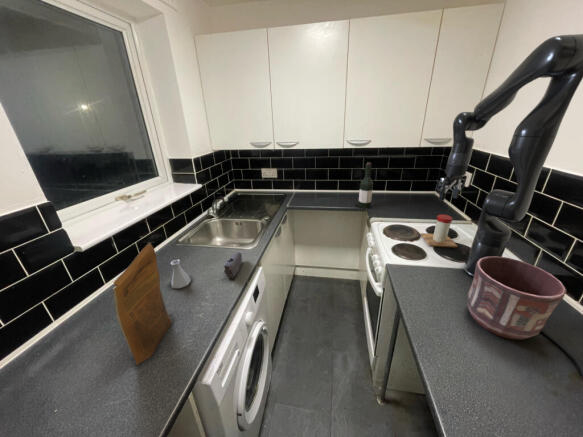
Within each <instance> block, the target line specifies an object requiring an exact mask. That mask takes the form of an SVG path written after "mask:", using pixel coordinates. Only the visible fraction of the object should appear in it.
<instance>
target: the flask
mask: <svg viewBox="0 0 583 437" xmlns="http://www.w3.org/2000/svg"><path fill="white" fill-rule="evenodd" d="M170 265H171V266H172V278H171V284H170V285H171V288H172V289H182V288H184V287H187V286H189V284H190V283H191V281H192V279H191V277H190V276H189V274H188V273H187V272H186V271H185V270H184V268H182V266H181V261H180V259H174V260H172V261H171V262H170Z"/></svg>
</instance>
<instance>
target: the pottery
mask: <svg viewBox="0 0 583 437" xmlns="http://www.w3.org/2000/svg"><path fill="white" fill-rule="evenodd" d="M566 293H567V288H566V287H565V285H564V284H563V282H562V281H561V280H559V279H558V278H557V277H556V276H555V275H553V274H551V273H549V272H548V271H546V270H544V269H542V268H541V267H538V266H535V265H533V264H531V263H528V262H525V261H522V260H520V259H515V258H512V257H511V258H510V257H505V256H502V257H498V256H492V257H484V258H481V259H479V260H478V262H477V264H476V268H475V275H474V277H473V279H472V283H471V285H470V288H469V291H468V293H467V298H466V300H467V301H466V302H467V303H466V304H467V309H468V311H469V313H470V315H471V317H472V318H473V320H475V322H476V323H477V324H478V325H479V326H480V327H481V328H483V329H484V330H486V331H488V333H491V334H493V335H495V336H498V337H501V338H504V339H509V340H521V341H522V340H526V339H529V338H531V337H535V336H537V335H539V334H540V333H541V332H540V331H541V330H543V328H544V326H545V324H546V323H547V321H548V319H549V317H550V315H551V314H552V313H553V311H554V310H555V309H556V308H557V306H558V305H559V304H560V303H561V301H562V300H563V299H564V298H565V295H566Z"/></svg>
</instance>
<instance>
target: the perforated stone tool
mask: <svg viewBox="0 0 583 437" xmlns="http://www.w3.org/2000/svg"><path fill="white" fill-rule="evenodd" d="M242 262H243V256H242V253H241V252H240V251H237V252H235V253H233V254H232V255H231V256H230V257H229V258H228V259H227V260H226V261H225V263H224V264H223V267H224V270H223V272H224V274H225V276H226V277H227V278H231V279H234V278H236V276H237V275H238V273H239V270H240V268H241V265H242Z"/></svg>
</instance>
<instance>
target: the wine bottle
mask: <svg viewBox="0 0 583 437" xmlns="http://www.w3.org/2000/svg"><path fill="white" fill-rule="evenodd" d="M371 172H372V163H371V162H366V164H365V168H364V177H363V179H362V180H361V181H360V183H359V193H358V204H357V205H358V208H360V209H365V210H367V209H370V208H371V206H372V197H373V188H374V182H373V179H372V178H371Z"/></svg>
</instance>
